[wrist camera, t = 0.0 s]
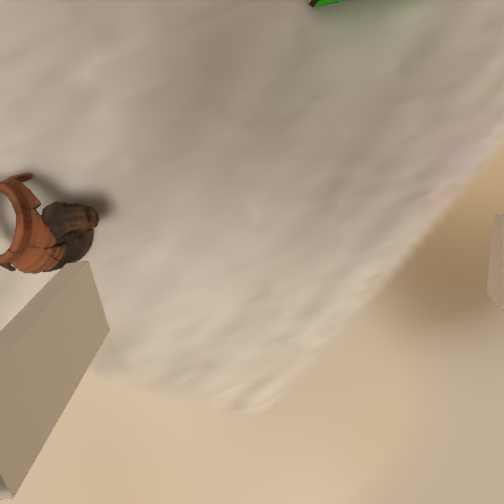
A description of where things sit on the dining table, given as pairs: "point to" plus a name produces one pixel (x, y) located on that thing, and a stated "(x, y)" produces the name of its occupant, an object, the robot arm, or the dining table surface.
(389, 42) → the dining table surface
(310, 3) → the puzzle cube
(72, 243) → the pottery mug
